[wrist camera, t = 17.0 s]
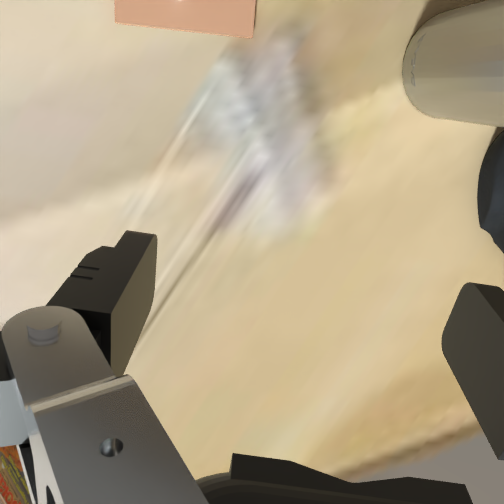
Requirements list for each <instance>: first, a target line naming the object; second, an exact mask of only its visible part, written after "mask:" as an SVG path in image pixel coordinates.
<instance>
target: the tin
mask: <svg viewBox="0 0 504 504" xmlns="http://www.w3.org/2000/svg"><path fill="white" fill-rule="evenodd" d="M0 504H32V500H31V497H30V493H29V490H28V486H27V483H26V479H25V475H24V472H23V468H22V465H21V461H20V458H19V454H18V450H17V447H16V445H12V446H5V447H0Z"/></svg>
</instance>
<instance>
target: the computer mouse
mask: <svg viewBox="0 0 504 504" xmlns="http://www.w3.org/2000/svg"><path fill="white" fill-rule="evenodd" d="M477 199H478V215H479V223H480V227H481V228H482V229H484V230H486V231H487V232H488V233H490V235H491V236H492V238H493V241H494V243H495V244H496V245H497V246H498V247H499V248H500V249H501V251H502V252H503V253H504V131H503V132H502V133H501V134H500V135H499V136H498V137H497V138H496V139H495V140H494V142H493V143H492V144H491V146H490V147H489V149H488V151H487V153H486V155H485V158H484V160H483V163H482V166H481V170H480V174H479V181H478V197H477Z"/></svg>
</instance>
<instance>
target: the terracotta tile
mask: <svg viewBox="0 0 504 504" xmlns="http://www.w3.org/2000/svg"><path fill="white" fill-rule="evenodd" d="M255 3H256V0H115V23H117V24H125V25H134V26H143V27H152V28H162V29H171V30H180V31H189V32H198V33H207V34H216V35H225V36H234V37H243V38H253V29H254V16H255Z"/></svg>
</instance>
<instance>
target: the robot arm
mask: <svg viewBox="0 0 504 504" xmlns="http://www.w3.org/2000/svg"><path fill="white" fill-rule="evenodd" d="M402 75H403V84H404V88H405V91H406V94H407V96H408V98H409V99H410V101H411V103H412V104H413V105H414V106H415V107H416V108H417V109H418V110H419V111H421V112H422V113H424V114H425V115H428V116H431V117H434V118H440V119H447V120H454V121H460V122H467V123H474V124H482V125H489V126H496V127H503V128H504V0H487V1H484V2H480V3H476V4H471V5H468V6H464V7H460V8H456V9H453V10H449V11H446V12H443V13H440V14H437V15H436V16H434V17H433V18H431V19H429V20H428V21H427V22H426V23H424V24H423V25H422V26H421V27H420V28H419V29H418V31H417V32H416V34H415V35H414V36H413V38H412V39H411V41H410V43H409V46H408V48H407V50H406V53H405V57H404V61H403V70H402ZM156 258H157V236H156V235H155V234H148V233H142V232H135V231H128V230H127V231H126V232H125V233H124V234H123V236H122V237H121V239H120V240H119V242H118V243H117V245H116V246H115V247H107V246H101V247H100V248H98V249H96V250H94V251H92V252H90V253H88V254H86V256H85V257H84V258H83V259H82V261H81V262H80V263H79V264H78V267H77V268H75V270H74V271H73V272H72V273H71V275H70V277H68V278H67V280H66V281H65V282H64V283H63V285H62V286H61V287H60V288H59V290H58V291H57V292H56V293H55V295H54V296H53V297H52V298H51V300H50V301H49V302H48V303H47V305H46V306H41V307H35V308H31V309H28V310H25V311H22V312H20V313H18V314H16V315H15V316H13V317H12V318H11V319H9V320H8V321H7V322H6V324H5V325H4V327H3V329H2V331H0V447H5V446H12V445H16V447H17V450H18V454H19V458H20V461H21V465H22V468H23V472H24V475H25V479H26V483H27V486H28V490H29V493H30V497H31V500H32V504H473V503H472V500H471V498H470V495H469V493H468V491H467V488H466V486H465V484H458V483H450V482H443V481H435V480H428V479H421V478H413V477H403V478H395V479H387V480H379V481H370V482H362V483H351V482H347V481H344V480H341V479H338V478H336V477H333V476H330V475H328V474H325V473H322V472H319V471H317V470H314V469H311V468H308V467H306V466H303V465H300V464H297V463H295V462H292V461H287V460H280V459H272V458H265V457H258V456H250V455H243V454H235V453H233V454H232V460H231V465H230V470H229V472H227V473H219V474H215V475H211V476H206V477H203V478H200V479H198V480H195V479H194V478H193V476H192V475H191V473H190V471H189V470H188V468H187V466H186V465H185V463H184V461H183V460H182V458H181V456H180V455H179V453H178V451H177V450H176V448H175V446H174V445H173V443H172V441H171V440H170V438H169V436H168V435H167V433H166V431H165V430H164V428H163V426H162V425H161V423H160V421H159V420H158V418H157V416H156V415H155V413H154V411H153V410H152V408H151V406H150V405H149V403H148V402H147V400H146V398H145V397H144V395H143V393H142V392H141V390H140V388H139V387H138V385H137V383H136V382H135V380H134V379H133V378H132V377H131V376H130V375H128V374H126V375H123V374H124V372H125V369H126V367H127V365H128V362H129V360H130V357H131V355H132V353H133V350H134V348H135V345H136V343H137V341H138V338H139V336H140V334H141V331H142V329H143V326H144V324H145V322H146V319H147V317H148V315H149V312H150V309H151V306H152V302H153V297H154V290H155V275H156ZM442 351H443V354H444V356H445V358H446V360H447V362H448V364H449V366H450V368H451V370H452V372H453V374H454V375H455V377H456V379H457V381H458V383H459V385H460V387H461V389H462V391H463V393H464V395H465V397H466V399H467V401H468V402H469V404H470V406H471V408H472V410H473V412H474V414H475V416H476V418H477V420H478V422H479V424H480V426H481V428H482V430H483V431H484V433H485V435H486V437H487V439H488V441H489V443H490V445H491V447H492V449H493V451H494V453H495V455H496V456H497V459H498V460H504V291H503V290H502V289H501V288H500V287H497V286H491V285H484V284H477V283H471V282H469V283H466V284H465V285H464V286H463V287H462V289H461V291H460V293H459V295H458V297H457V300H456V302H455V305H454V307H453V309H452V312H451V314H450V316H449V319H448V321H447V324H446V326H445V328H444V331H443V334H442Z"/></svg>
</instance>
